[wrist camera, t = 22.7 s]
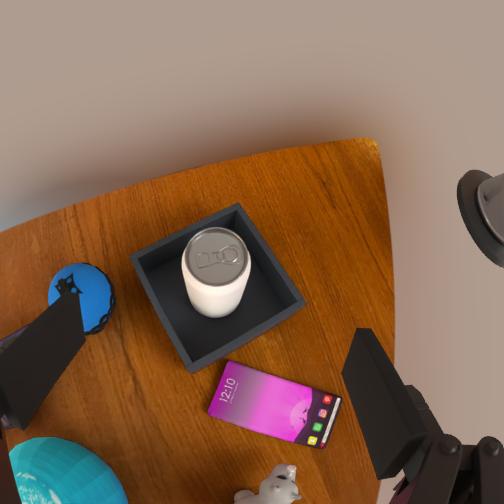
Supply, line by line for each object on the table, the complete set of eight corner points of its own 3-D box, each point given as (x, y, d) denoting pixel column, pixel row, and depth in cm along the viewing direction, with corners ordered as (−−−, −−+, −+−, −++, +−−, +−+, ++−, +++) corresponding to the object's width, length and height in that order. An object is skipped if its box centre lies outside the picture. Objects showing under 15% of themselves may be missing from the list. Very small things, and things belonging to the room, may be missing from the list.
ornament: (56, 298, 36) (18, 273, 27) (104, 264, 39) (77, 230, 29) (83, 352, 34) (46, 341, 24) (135, 317, 36) (112, 296, 27)
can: (246, 313, 38) (261, 283, 27) (193, 323, 36) (185, 297, 25) (235, 264, 40) (244, 218, 29) (184, 273, 39) (175, 228, 28)
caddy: (294, 314, 39) (307, 303, 34) (193, 374, 35) (189, 373, 29) (235, 224, 43) (238, 202, 38) (139, 272, 39) (128, 255, 33)
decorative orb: (151, 533, 25) (126, 593, 11) (51, 517, 23) (-3, 553, 9) (132, 433, 31) (86, 461, 17) (31, 422, 28) (-40, 429, 15)
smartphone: (322, 448, 32) (324, 450, 31) (206, 414, 33) (206, 414, 32) (340, 396, 35) (343, 397, 34) (228, 359, 36) (228, 359, 35)
